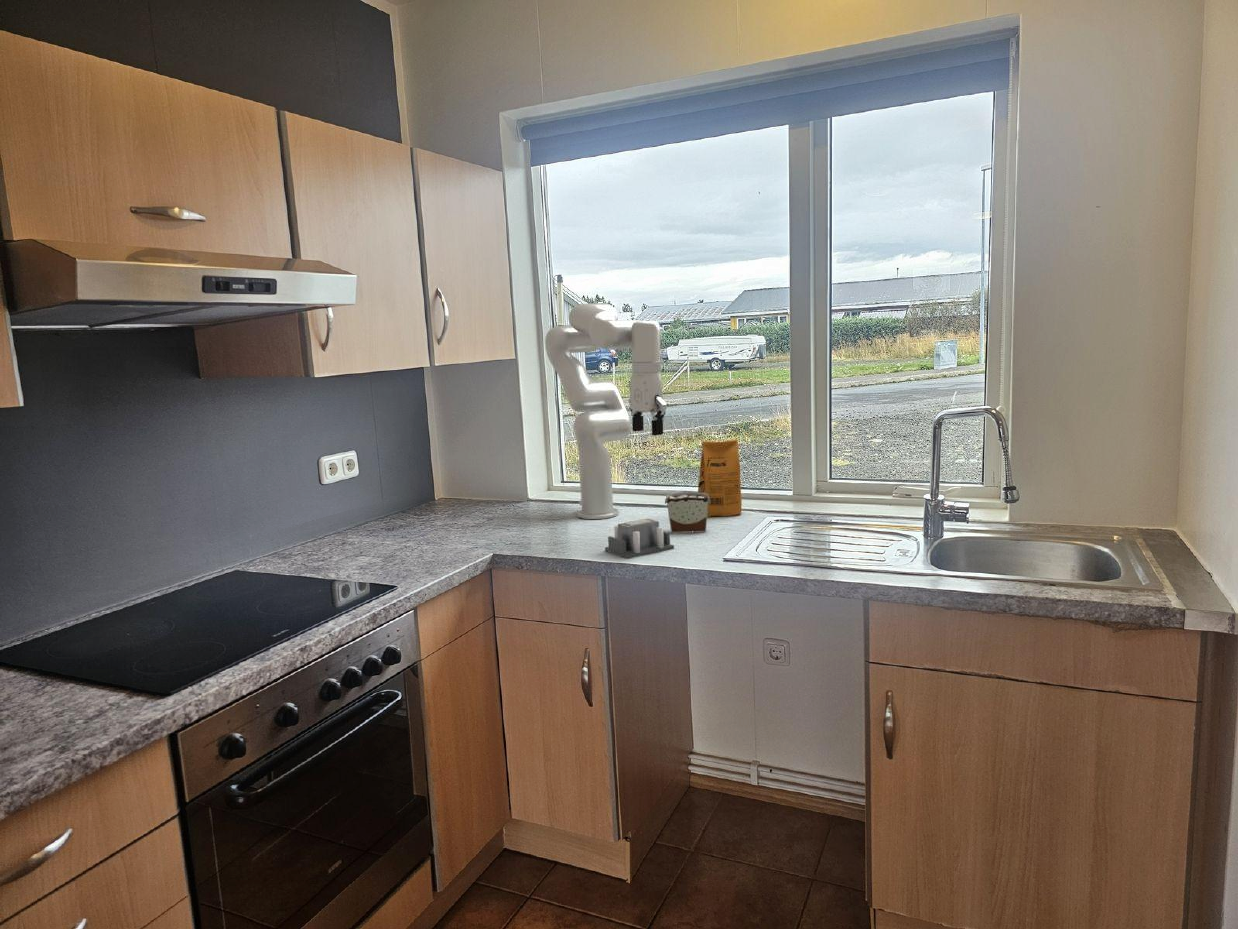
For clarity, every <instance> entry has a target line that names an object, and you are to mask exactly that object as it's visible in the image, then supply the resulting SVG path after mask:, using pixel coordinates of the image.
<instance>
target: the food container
mask: <svg viewBox="0 0 1238 929" xmlns="http://www.w3.org/2000/svg"><path fill="white" fill-rule="evenodd" d="M708 501H709V502H710V498H709V496H708V494H706V493H700V492H698V491H685V492H684V491H683V492H674V493H669V494H667V495H666V498H664V505H667V507H666V508H667V513H668V520H669V525H670V527H669V528H670V532H680V533H697V532H696V531H706V532H707V525H708V524H707V523H708V522H707V521H708V517H707V512H708ZM710 503H711V502H710ZM692 531H694V532H692Z"/></svg>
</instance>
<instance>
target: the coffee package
mask: <svg viewBox="0 0 1238 929" xmlns="http://www.w3.org/2000/svg"><path fill="white" fill-rule="evenodd" d="M701 443H702V444H701V447H702V450H701V458H700V462H699V463H700V468H699V475H698V476H699V477H698V478H699V479H698V484H697V486H698V487H697V492H700V493H706V494H708V496H709V498H710V502H711V503H710V502H709V501H708V512H707V518H710V517H711V516H712V517H723V516H726V517H731V516H730V515H734V516H738V515H737V514H740V515H741V514H742V505H743V504H742V490H741V465H740V464H741V463H740V456H739V440H738V438H734V439H730V440H724V441H709V440H701Z"/></svg>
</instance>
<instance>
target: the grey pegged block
mask: <svg viewBox="0 0 1238 929" xmlns="http://www.w3.org/2000/svg"><path fill="white" fill-rule="evenodd" d="M613 527H614V528H613V529H614V536H608V537H607V542H608V543H607V544H608V546H606V547H604V551H605V552H608V551H609V552H608V553H610V552H611V554H613V553H614V554H613V555H615V556H618V555H620V556H619V557H621V556H622V557H621V558H624V559H626V558H627V559H632V558H635V556H636V557H640V556H639V555H641V556H646V555H649V554H650V555H651V554H654V553H660V552H664V551H665V552H666V551H669V550H674V549H675V545H673V544H671V535H670V534H671V533H670V532H668V531H665V530H664V527H663V526H659V527H657V546H653V547H648V548H643V549H640V534H639V532H638V531H635V532H633V547H634V551H627V550H626V541H623V540H620V539H618V525H614V526H613ZM631 557H632V558H631Z"/></svg>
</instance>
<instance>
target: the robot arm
mask: <svg viewBox="0 0 1238 929" xmlns="http://www.w3.org/2000/svg"><path fill="white" fill-rule="evenodd" d="M568 322H569V324H564V325H559V326H555V327H552V328H551V329H549V330H548V331H547V333H546V336H545V342H544V344H545V351H546V356H547V358H548V360H549V362H550V363H551V365H552V367H553V369H554V370H555V372H556V373H557V375H558V378H559V380H560V382H561V386H562V387H563V388H562V389H563V390H564V393H565V396H566V399H567V401H568V405H570V407H571V409H572V410H573V411H575V412H577V413H580V414H578V415H577V416H576V417H575V419H574V421H573V432H574V435H575V439H576V444H577V446H576V447H577V451H578V452H577V453H578V464H579V466H578V467H579V483H580V498H581V499H580V500H579V501H578V504H579V505H580V506H581V509H580V510H578V511H577V512H576V516H577V518H580V519H582V520H583V519H584V520H601V519H602V520H603V519H609V518H614V517H616V516H617V515H619V509H618V508H615V507H614V501H613V499H614V498H613V496H614V495H613V480H612V462H611V461H612V460H611V455H610V452H609V451H608V450H607V448H606V446H605V445H604V444H603V443H606V442H612V441H613V442H614V441H621V440H625V439H627V438H628V437H629V436H630V435H631V430H632V432H642V431H644V429H645V428H644V427H645V426H644V415H642V414H643V413H646V414H647V413H650V416H651V418H652V420H651V435H652V436H661V435H663V434H664V419H665V415H666V411H667V406H668V404H667V403H666V402H665V401H664V397H663V396H664V395H663V394H664V393H663V383H662V376H661V374H662V373H661V372H662V371H661V331H660V330H661V326H660V323H659V322H657V321H655V320H641V319H640V320H638V319H637V320H635V319H634V320H631V319H630V320H619V318H618V312H617V310H616V308H615V307H614V306H613V305H611V304H610V303H601V302H599V303H581V304H577V305H575V306H573V308H572V309H570V311H569V314H568ZM601 348H602V349H605V350H610V351H611V350H626V349H627V350H628V349H629V350H630V349H631V376H630V383H629V384H630V385H629V386H630V387H629V398H628V404H629V410H630V415H629V413H628V410H627V408H626V405H625V403H624V400H623V398H622V395H621V392H620V390H619V388H618V387H617V385H616V384H615V382H613V381H612V380H609V379H607V378H606V379H592V378H590V376H589V374H588V371H587V368H586V367H585V365H584V364H583V363H582V362H581V361H580V359H578V358H577V357H575V356H574V355H572V354H573V353H574V354H575V353H576V354H579V353H593V352H596V351H598V350H600V349H601ZM630 416H631V418H632V419H630ZM631 420H632V421H631Z"/></svg>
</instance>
